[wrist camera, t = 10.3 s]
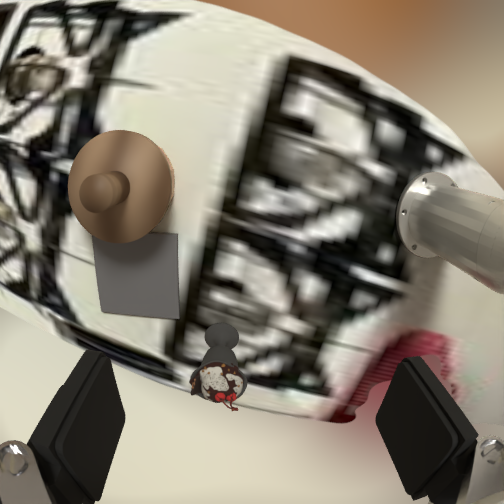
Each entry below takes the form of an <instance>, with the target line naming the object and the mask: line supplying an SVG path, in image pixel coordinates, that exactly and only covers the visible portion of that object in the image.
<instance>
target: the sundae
mask: <svg viewBox="0 0 504 504" xmlns="http://www.w3.org/2000/svg"><path fill="white" fill-rule="evenodd" d="M205 341H206V343H207V344H208V345H209V346H210V347H211V348H210V349H209V350H208V351H207V353H206V354H205V356H204V358H203V361H202V364H201V366H200V367H199V368H197V369H196V370H195V371H194V372H193V374H192V375H191V378H190V381H189V382H190V384H191V385H192V390H191V395H195V394H197V395H199V396H200V397H202V398H204V399H206V400H209V401H212V402H215V403H220V402H223V403H224V404H225V402H224V401H231V402H230V406H231V408H230V407H229V406H227V405H226V404H225V405H226V406H227V407H228V408H230V409H232V411H234V410H235V411H238V408H234V407H232V405H231V404H232V401H235V400H236V399H237V398H239V397H240V396H241V395H242V394H243V393H244V391H245V389H246V387H247V378H246V376H245V375H244V374H243V373H242V372H241V371H240V370H239V369H238V364H237V359H236V356H235V354H234V352H233V351H232V350H231V349H232V348H234V347H235V346H236V345H237V343H238V341H239V334H238V332H237V330H236V329H235V328H234V327H232V326H231V325H228V324H225V323H217V324H214V325H211V326H210V327H209V328H208V329H207V330H206V332H205Z"/></svg>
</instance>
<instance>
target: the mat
mask: <svg viewBox="0 0 504 504" xmlns="http://www.w3.org/2000/svg"><path fill="white" fill-rule="evenodd" d="M92 238H93V250H94V260H95V269H96V277H97V285H98V292H99V299H100V305H101V311H102V312H109V313H118V314H127V315H137V316H148V317H160V318H172V319H180V305H179V277H178V234H171V233H148V234H146V235H145V236H143V237H142V238H139V239H137V240H135V241H132V242H128V243H110V242H106V241H103V240H101V239H98V238H97V237H95V236H93V235H92Z"/></svg>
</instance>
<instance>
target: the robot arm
mask: <svg viewBox="0 0 504 504" xmlns="http://www.w3.org/2000/svg"><path fill="white" fill-rule="evenodd" d="M402 210H403V211H402ZM396 224H397V231H398V234H399V237H400V239H401V241H402V243H403V244H404V246H405V247H406V248H407V249H408V250H409V251H411V252H412V253H413V254H415V255H417V256H419V257H423V258H432V257H436V256H439V257H441V258H443V259H444V260H446V261H448V262H449V263H451V264H452V265H454V266H456V267H457V268H459V269H460V270H462V271H464V272H465V273H467V274H468V275H470V276H471V277H473V278H474V279H476V280H477V281H479V282H481V283H482V284H484V285H485V286H487V287H488V288H490V289H491V290H493V291H495V292H497V293H500V294H504V200H502V199H499V198H495V197H492V196H488V195H484V194H481V193H477V192H473V191H469V190H465V189H461V188H458V186H457V184H456V183H455V182H454V181H453V180H452V179H451V178H450V177H448V176H447V175H445V174H442V173H439V172H426V173H422V174H420V175H418V176H416V177H415V178H414V179H413V180H411V181H410V182H409V184H408V185H407V186H406V187H405V189H404V191H403V193H402V194H401V197H400V199H399V202H398V206H397V212H396ZM124 423H125V412H124V409H123V405H122V402H121V398H120V395H119V391H118V388H117V384H116V380H115V376H114V372H113V368H112V364H111V360H110V358H108V357H106V355H105V353H103V352H99V351H93V350H86V351H85V352H84V354H83V355H82V357H81V358H80V360H79V362H78V363H77V365H76V366H75V368H74V369H73V371H72V372H71V374H70V376H69V377H68V379H67V380H66V382H65V383H64V385H62V386H61V387H60V388H59V390H58V391H57V393H56V395H55V396H54V398H53V400H52V401H51V403H50V405H49V406H48V408H47V409H46V411H45V413H44V415H43V416H42V418H41V420H40V421H39V423H38V425H37V427H36V429H35V430H34V432H33V434H32V435H31V437H30V439H29V441H28V443H27V445H26V444H24V443H23V442H20V441H16V440H14V441H7V442H4V443H2V444H1V445H0V504H94V503H95V501H99V500H100V499H101V496H102V493H103V489H104V485H105V483H106V479H107V476H108V473H109V469H110V466H111V463H112V460H113V457H114V454H115V450H116V448H117V444H118V442H119V439H120V436H121V433H122V429H123V427H124ZM376 425H377V427H378V429H379V432H380V434H381V436H382V438H383V440H384V443H385V445H386V447H387V449H388V452H389V454H390V456H391V458H392V461H393V463H394V465H395V468H396V470H397V472H398V474H399V477H400V479H401V481H402V484H403V486H404V488H405V491H406V493H407V494H409V495H411V497H412V499H413V500H417V499H420V498H422V497H425V496H427V495H428V497H429V499H430V500H429V503H428V504H504V441H503V440H502V439H500V438H498V437H496V436H490V435H489V436H485V437H483V438H481V439H480V440H479V441H478V442H477V440H476V438H477V437H478V433H477V432H476V430H475V429H474V427H473V426H472V425H471V423H470V422H469V420H468V419H467V417H466V416H465V415H464V413H463V412H462V410H461V409H460V408H459V406H458V405H457V404H456V402H455V401H454V400H453V398H452V397H451V395H450V394H449V393H448V392H447V390H446V389H445V387H444V386H443V385H442V384H441V382H440V381H439V380H438V378H437V377H436V376H435V374H434V373H433V372H432V371H431V369H430V368H429V367H428V365H427V364H426V363H425V362H424V360H423V359H422V358H421V357H420V356H415V357H407V358H404V359H403V360H402V362H401V363H399V364H398V366H397V368H396V371H395V373H394V376H393V378H392V381H391V383H390V385H389V388H388V390H387V392H386V395H385V397H384V399H383V402H382V404H381V406H380V408H379V410H378V413H377V415H376Z"/></svg>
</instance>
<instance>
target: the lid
mask: <svg viewBox="0 0 504 504" xmlns="http://www.w3.org/2000/svg"><path fill="white" fill-rule="evenodd" d="M68 193H69V200H70V204H71V207H72V210H73V212H74V214H75V216H76V218H77V219H78V221H79V222H80V224H81V225H82V226H83V227H84V228H85V229H86V230H87V231H88V232H89V233H90V234H92V235H93V236H95V237H97V238H98V239H101V240H103V241H106V242H110V243H128V242H132V241H135V240H137V239H139V238H142V237H143V236H145V235H146V234H148V233H149V232H150V231H151V230H152V229H153V228H155V227H156V226H157V224H158V223H159V222H160V221H161V219H162V218H163V216H164V215H165V213H166V211H167V209H168V206H169V203H170V200H171V195H172V176H171V170H170V167H169V164H168V162H167V159H166V157H165V156H164V154H163V152H162V151H161V150H160V148H159V147H158V146H157V145H156V144H155V143H154V142H153V141H151V140H150V139H149V138H147V137H145V136H143V135H141V134H139V133H135V132H131V131H125V130H114V131H108V132H105V133H102V134H100V135H98V136H96V137H94V138H93V139H91V140H90V141H89V142H88V143H87V144H86V145H85V146H84V147H83V148H82V149H81V150H80V152H79V153H78V154H77V156H76V158H75V160H74V162H73V164H72V167H71V170H70V174H69V181H68Z"/></svg>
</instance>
